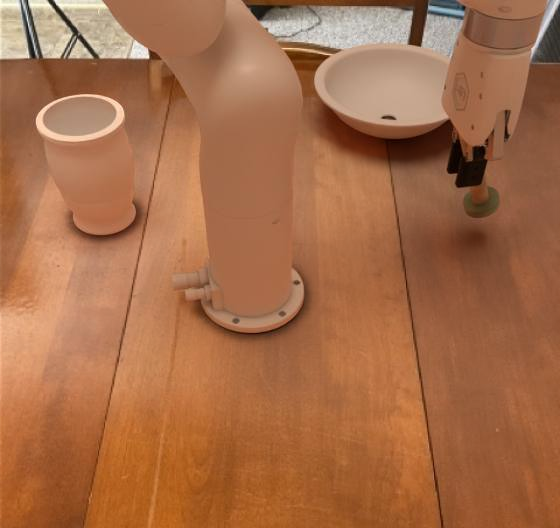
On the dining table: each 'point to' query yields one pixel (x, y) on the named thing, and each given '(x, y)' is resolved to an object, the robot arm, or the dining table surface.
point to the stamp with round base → (480, 196)
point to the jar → (90, 160)
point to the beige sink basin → (385, 88)
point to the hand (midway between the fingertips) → (463, 177)
